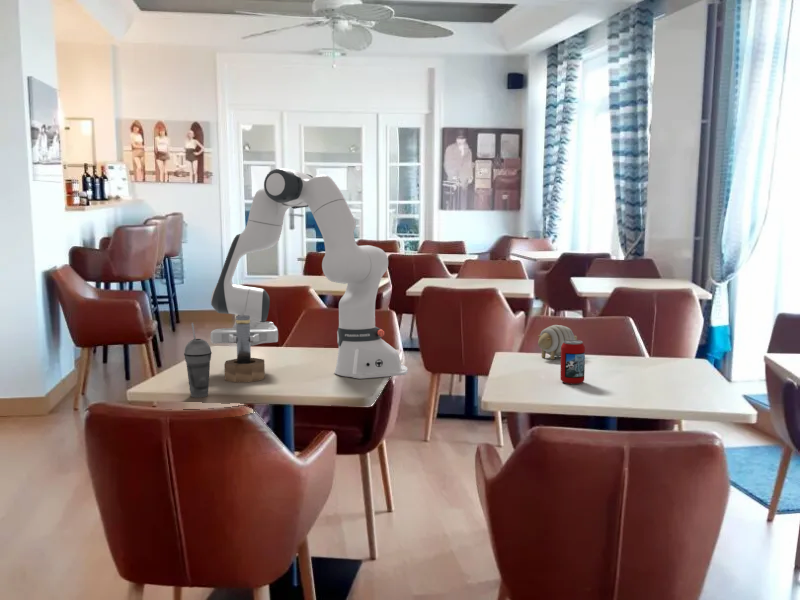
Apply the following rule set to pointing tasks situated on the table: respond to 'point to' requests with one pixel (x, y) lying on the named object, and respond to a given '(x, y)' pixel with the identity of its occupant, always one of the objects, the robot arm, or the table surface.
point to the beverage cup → (198, 366)
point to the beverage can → (572, 362)
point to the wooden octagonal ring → (244, 371)
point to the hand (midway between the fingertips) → (243, 339)
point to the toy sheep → (554, 339)
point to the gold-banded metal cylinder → (243, 339)
